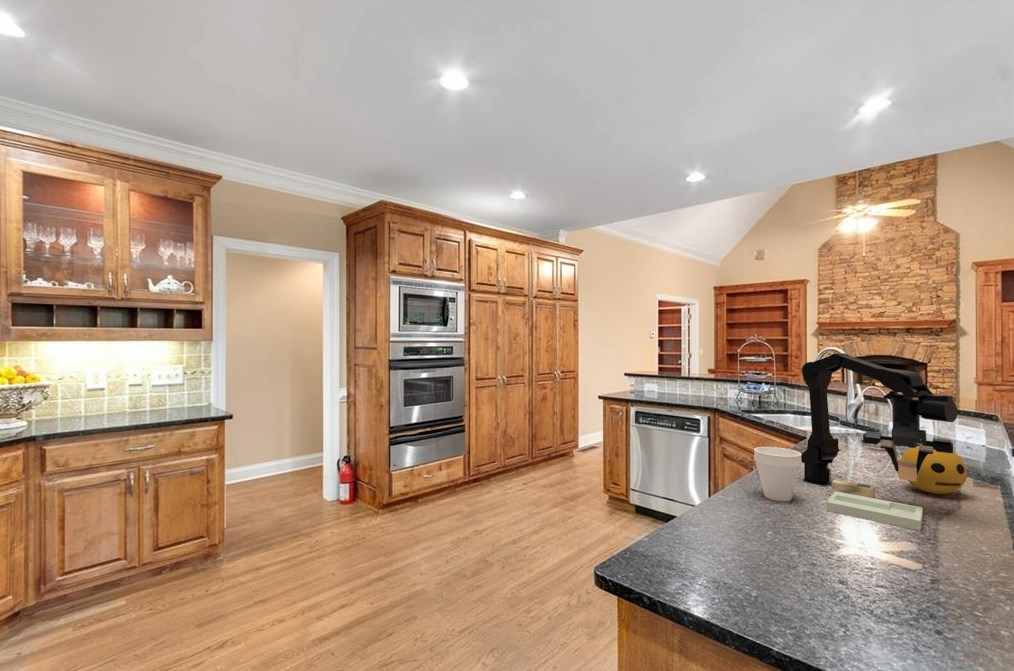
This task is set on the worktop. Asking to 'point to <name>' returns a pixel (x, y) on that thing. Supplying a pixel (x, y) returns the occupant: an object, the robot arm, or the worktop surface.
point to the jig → (876, 510)
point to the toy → (938, 471)
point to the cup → (777, 471)
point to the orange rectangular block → (907, 470)
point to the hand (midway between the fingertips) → (906, 472)
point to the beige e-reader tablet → (853, 488)
